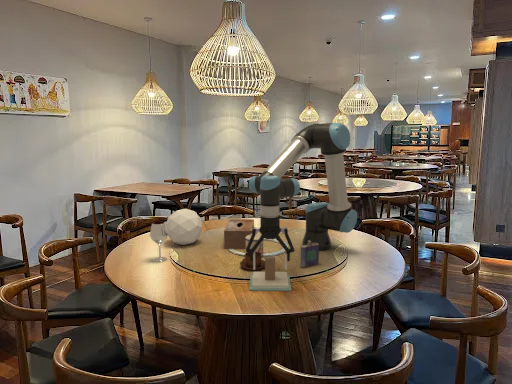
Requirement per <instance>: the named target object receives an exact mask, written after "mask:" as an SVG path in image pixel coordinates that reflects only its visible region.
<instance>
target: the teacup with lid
mask: <svg viewBox="0 0 512 384" xmlns="http://www.w3.org/2000/svg"><path fill="white" fill-rule="evenodd" d="M251 235H252V234H250V235H248V236H246V237H245V239H246V247H247V245H248V243H249V240H250V238H251ZM261 235H262V234H259V233H257V234H255V237H254V240H253V242H252V244H251V247H250V249H252V247H253V246H254V245H255V243H256V242H257V241H258V239H259V238H260V236H261ZM254 252H260V253H261V257H263V255H264V240H263V241H262V242H261V243H260V245H259V246H258V247H257V249H256V250H255V251H254ZM245 253H247V252H246V251H245Z"/></svg>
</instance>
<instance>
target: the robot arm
mask: <svg viewBox="0 0 512 384" xmlns="http://www.w3.org/2000/svg"><path fill="white" fill-rule="evenodd" d="M290 141H291V142H290V143H289V144H288V145H287V146H286V148H284V149H283V151H281V153H280V154H279V155H278V156H277V157H276V158H275V159H274V160H273V161H272V162H271V163H270V165H268V166H267V168H266V169H265V170H264V171H263V172H261V173H260V175H253V176H251V177H250V179H249V180H248V188H249V190H250V192H252V193H253V194H257V195H260V198H259V199H260V201H259V202H260V205H259V206H260V207H259V209H260V211H259V214H260V223H259V224H260V227H259V228H258V227H255V226H254V228H253V231H252V235H251V238H250V240H249V243H248V245H247V247H246V249H245V253H246V252H249V253H250V260H251V261H253V270H252V271H255V252H254V251H255V250H256V249H257V247H258V246H259V245H260V243H261V242H262V241H263V242H264V240H275V239H276V240H277V242H278V243H279V245H280V246H281V248H283V250H285V251H284V270H285V271H288V262H290V260H291V253H294V252H295V250H296V249H295V248H294V245H293V242H292V241H291V238H290V235H289V233H288V232H289V231H288V227H286V226H285V227H283V228H281V227H280V226H281V225H280V224H281V223H280V221H281V217H280V215H281V213H280V211H281V209H280V207H281V204H280V203H281V202H280V201H281V200H280V199H284V198H285V199H286V198H292V197H295V196H297V195H298V194H299V192H300V190H301V189H300V188H301V185H300V182H299V181H298V180H297V179H296V178H294V177H288V178H283V176H285V174H286V173H287V172H288V171H289V170H290V168H292V166H293V165H294V164H295V163H296V161H298V160H299V158H300V157H301V156H302V155H304V154H307V153H308V152H309V151H310V150H311V149H320V155H322V156H323V157H324V162H325V173H326V180H327V187H328V188H327V189H328V198H329V202H327V201H325V202H323V201H322V202H320V201H319V202H313V203H308V204H307V205H306V208H305V231H304V235H303V239H302V242H301V246H304V245H308V242H307V241H308V240H310V241H311V243H318V244H319V251H327V250H329V249H331V248H332V241H331V238H330V234H329V230H331V231H333V232H340V233H346V234H347V233H350V232H352V231H353V230H354V228H355V226H356V224H357V221H358V213H357V211H356V210H355V209H352V203H351V202H349V201H348V192H347V189H348V188H347V180H346V169H345V159H344V154H345V153H346V152H347V149H348V148H349V147H350V145H351V143H350V142H351V133H350V130H349V128H348V126H346V124H344V123H341V122H340V123H339V122H329V123H328V122H326V123H312V124H310V125H307V126H306V127H304V128H302V129H301V130H299V131H298V132H297V133H296V134H295V135H294V136H293V137H292V138H291V140H290ZM259 233H260V235H261V236H260V238H259V239H258V241H257V242H256V243H255V245H254V246H253V247H252V249H250V247H251V244H252V242H253V240H254V237H255V234H259ZM280 233H282V234H283V235H284V237H285V240H286V241H287V244H286V243H285V242H284V240H283V239H282V238H281V236H280ZM287 245H288V246H289V247H288V246H287Z"/></svg>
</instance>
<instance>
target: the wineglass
mask: <svg viewBox="0 0 512 384" xmlns="http://www.w3.org/2000/svg"><path fill="white" fill-rule="evenodd" d="M149 237H150V239H151V240H152V241H153V242H154V243H156V244H157V245H158V256H157V257H155V258H153V260H152V261H153V262H155V263H163V262H166V261H167V260H168V257H165V256H162V253H161V252H162V250H161V245H162V244H163V242H165V241H166V240H167V239H168V237H169V236H168V231H167V228H166V222H165V221H153V222H152V223H151V227H150V232H149Z"/></svg>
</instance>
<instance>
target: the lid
mask: <svg viewBox="0 0 512 384" xmlns="http://www.w3.org/2000/svg"><path fill="white" fill-rule="evenodd" d="M264 261H265V267H264V271H253V272H252V274H253V280H252V288H289V284H288V277H287V274H288V272H287V271H276V257H275V256H274V257H271V256H270V257H269V256H267V257H264Z"/></svg>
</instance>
